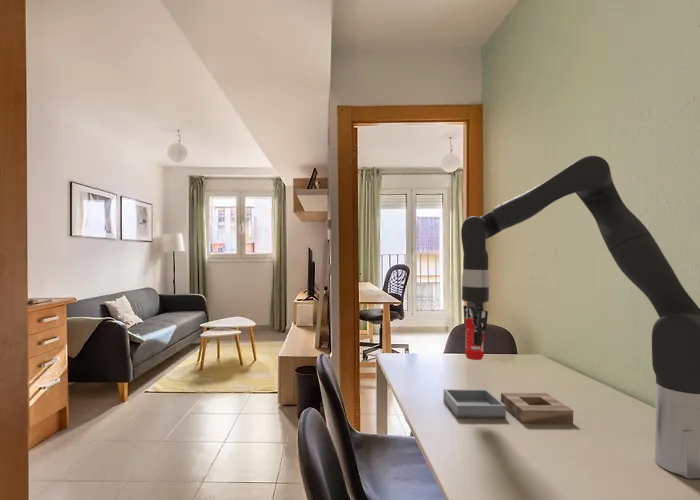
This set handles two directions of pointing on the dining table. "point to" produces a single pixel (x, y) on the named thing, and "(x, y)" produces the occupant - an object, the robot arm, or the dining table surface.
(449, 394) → the tray
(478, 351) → the beverage can
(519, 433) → the dining table surface
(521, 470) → the dining table surface
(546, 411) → the socket holder
